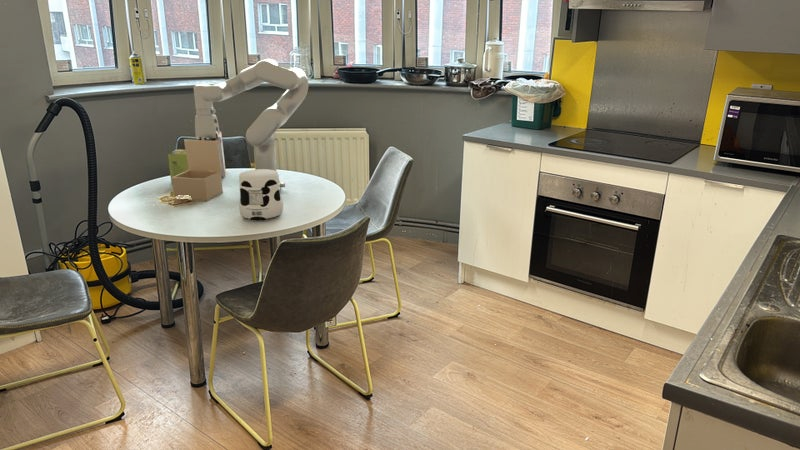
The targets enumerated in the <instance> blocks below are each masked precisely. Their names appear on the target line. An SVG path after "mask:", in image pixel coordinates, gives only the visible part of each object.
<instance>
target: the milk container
mask: <svg viewBox="0 0 800 450" xmlns="http://www.w3.org/2000/svg"><path fill="white" fill-rule="evenodd" d="M279 182H280V178H279V173H278V171H277V170H276V171H275V170H268V169H257V170H255V169H249V170H246V171H242V172H240V173H239V175H238V183H239V186H238V187H239V195H240V197H239V201H238V202H239V203H238V209H239V214H240V215H241V217H242V218H244V219H246V220H249V221H253V222H254V221H255V222H261V221H262V222H263V221H269V220H273V219H275V218H278V217H280V216H281V215H282V214H283V212H284V202H283V198H282V196H281V189H280V184H279Z"/></svg>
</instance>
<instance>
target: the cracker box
mask: <svg viewBox="0 0 800 450" xmlns="http://www.w3.org/2000/svg"><path fill="white" fill-rule="evenodd" d="M222 134H223V133H222V131H220V135H219V136H220V139H218V140H216V141H218V147H219V154H220V162H221V169H222V171H220V172H221V178H225V177H226V164H225V163H226V162H225V154H224V145H223V144H224V143H223V136H222ZM215 137H216V136H215ZM215 137H214V138H215Z"/></svg>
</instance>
